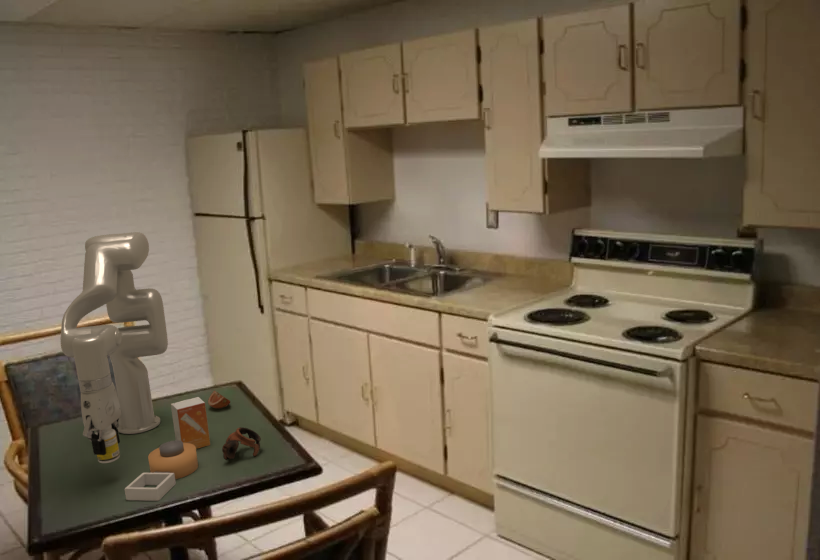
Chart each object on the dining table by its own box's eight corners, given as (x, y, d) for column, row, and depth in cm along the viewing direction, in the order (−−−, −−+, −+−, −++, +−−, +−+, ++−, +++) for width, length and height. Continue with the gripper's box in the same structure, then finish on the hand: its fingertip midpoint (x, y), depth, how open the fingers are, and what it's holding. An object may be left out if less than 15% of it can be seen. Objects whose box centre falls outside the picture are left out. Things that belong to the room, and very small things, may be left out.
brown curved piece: (231, 448, 206) (244, 422, 206) (258, 465, 204) (270, 439, 203) (207, 456, 195) (220, 428, 194) (234, 474, 192) (247, 447, 191)
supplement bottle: (97, 457, 191) (91, 422, 189) (119, 452, 193) (113, 417, 191) (97, 465, 186) (91, 430, 184) (120, 460, 188) (114, 425, 186)
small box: (182, 453, 204) (176, 409, 201) (176, 446, 209) (169, 403, 207) (211, 445, 208) (205, 401, 206) (204, 438, 213) (198, 396, 211)
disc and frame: (119, 499, 179) (115, 473, 178) (165, 459, 201) (161, 435, 199) (165, 500, 177) (161, 473, 176) (205, 460, 199) (202, 435, 197)
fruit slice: (235, 408, 236) (233, 394, 235) (214, 414, 232) (212, 399, 231) (225, 402, 243) (223, 387, 242) (205, 407, 239) (203, 393, 238)
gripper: (88, 395, 176) (101, 464, 180) (127, 370, 192) (138, 434, 196) (60, 395, 177) (73, 464, 181) (101, 370, 194) (112, 434, 198)
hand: (107, 448), depth 189 cm, fingers closed on supplement bottle, 5 cm apart
